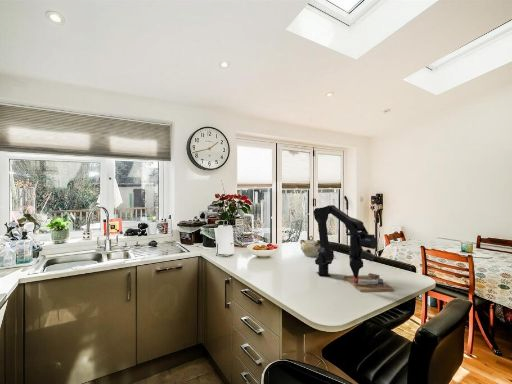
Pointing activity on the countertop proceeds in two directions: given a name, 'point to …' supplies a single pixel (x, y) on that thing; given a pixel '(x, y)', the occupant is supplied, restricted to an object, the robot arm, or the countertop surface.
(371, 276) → the walnut
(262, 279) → the countertop surface
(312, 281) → the countertop surface
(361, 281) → the lever
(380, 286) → the cracker base
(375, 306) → the countertop surface
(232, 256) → the countertop surface
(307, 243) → the sugar bowl
